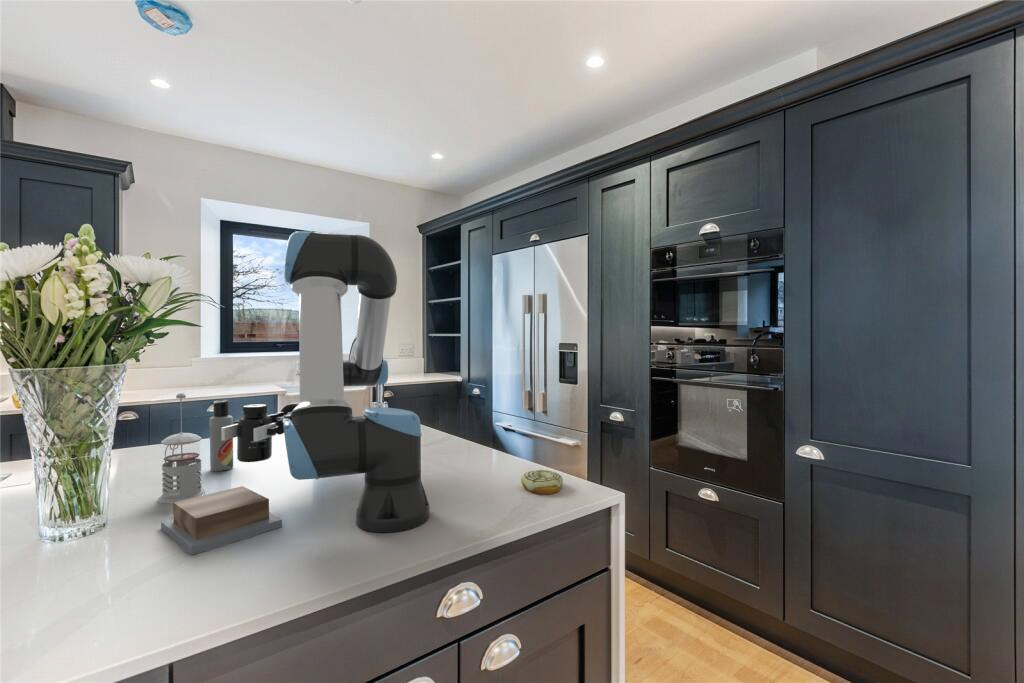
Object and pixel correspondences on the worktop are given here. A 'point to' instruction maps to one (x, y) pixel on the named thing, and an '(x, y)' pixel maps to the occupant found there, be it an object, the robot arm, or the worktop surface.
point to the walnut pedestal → (220, 511)
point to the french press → (181, 468)
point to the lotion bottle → (220, 448)
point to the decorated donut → (542, 481)
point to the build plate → (220, 538)
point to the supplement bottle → (245, 434)
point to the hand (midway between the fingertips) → (239, 434)
